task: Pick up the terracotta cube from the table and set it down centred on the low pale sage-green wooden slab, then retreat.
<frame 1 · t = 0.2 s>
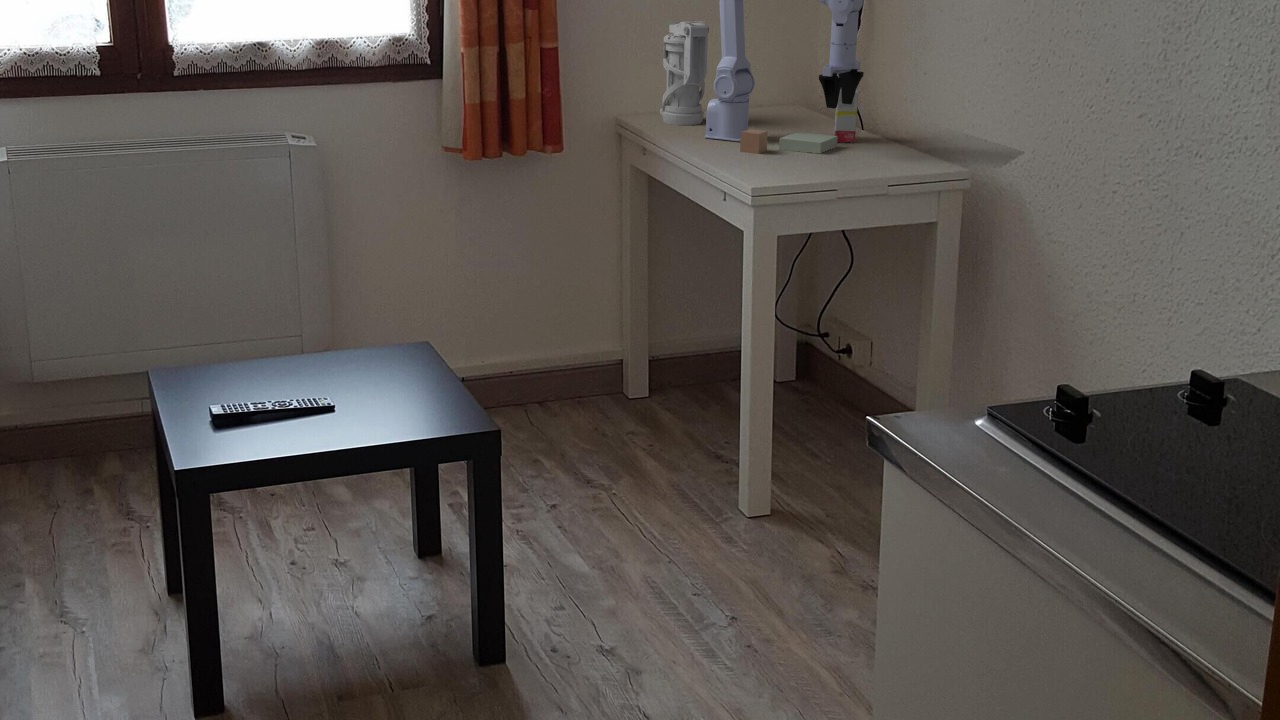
hand: (839, 106, 303), 10 cm above the table, fingers open, 7 cm apart
lantern: (685, 123, 339), on the table
ink box: (844, 140, 319), on the table
sage slab: (808, 148, 308), on the table
terracotta cube: (753, 151, 304), on the table
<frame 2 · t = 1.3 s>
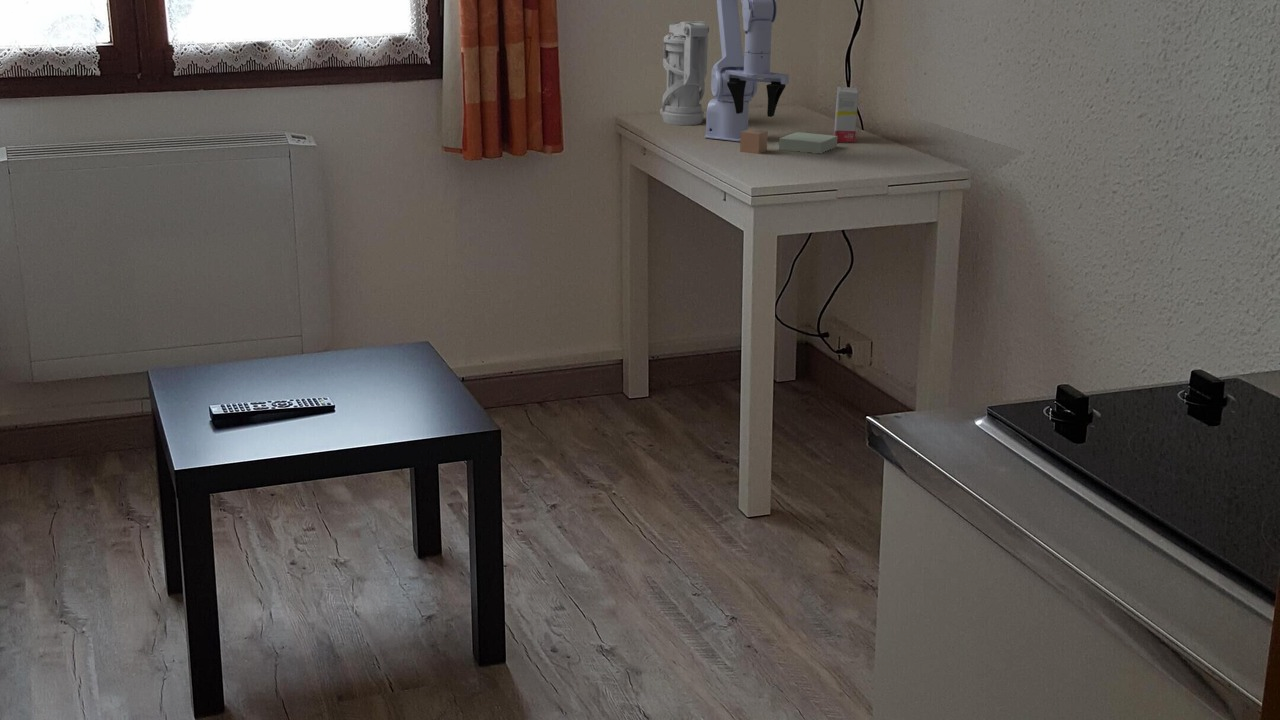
hand: (755, 114, 301), 8 cm above the table, fingers open, 7 cm apart
nothing on the table moved.
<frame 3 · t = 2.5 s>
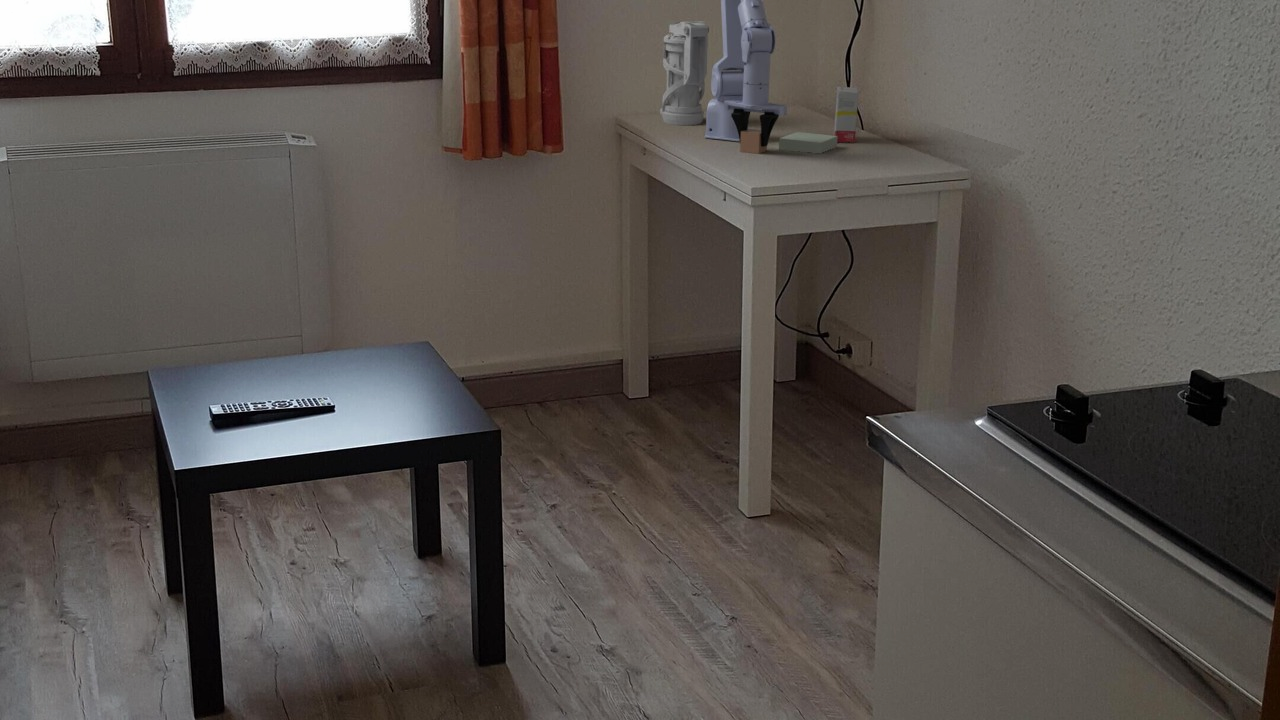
hand: (753, 144, 304), 1 cm above the table, fingers closed on terracotta cube, 4 cm apart
terracotta cube: (753, 151, 304), on the table, touching gripper
everything else where it was.
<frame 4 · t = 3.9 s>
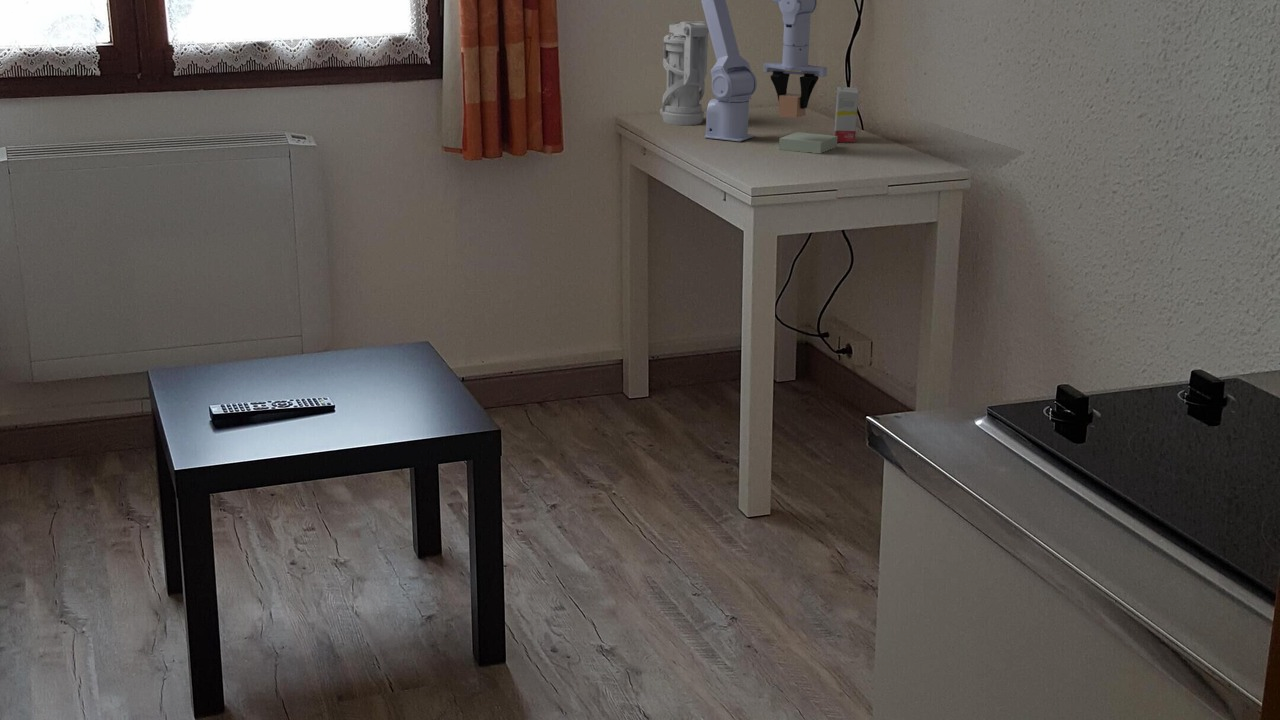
hand: (793, 107, 304), 9 cm above the table, fingers closed on terracotta cube, 5 cm apart
terracotta cube: (791, 115, 304), point 8 cm above the table, touching gripper
everything else where it was.
when the fingers open (5 cm above the table, at t = 5.4 s): terracotta cube drops 1 cm, resting on sage slab.
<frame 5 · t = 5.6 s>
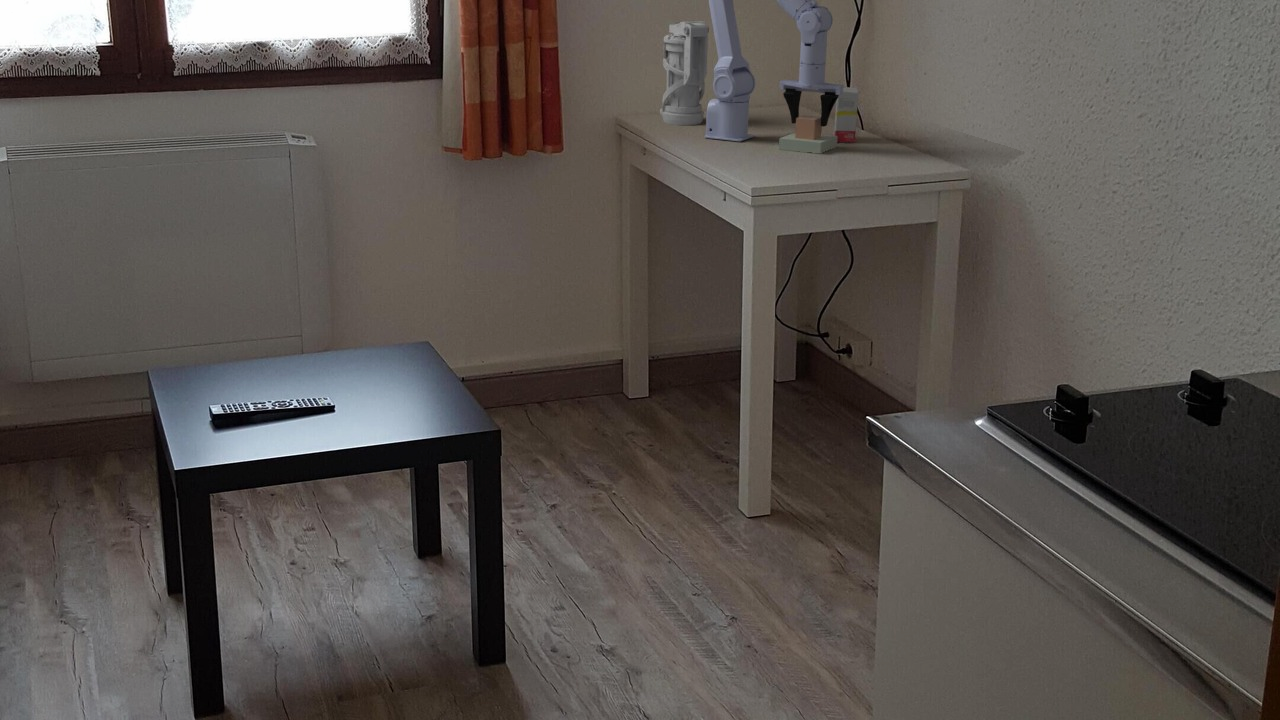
hand: (809, 124, 306), 5 cm above the table, fingers open, 6 cm apart
terracotta cube: (808, 137, 307), point 2 cm above the table, touching sage slab
everything else where it was.
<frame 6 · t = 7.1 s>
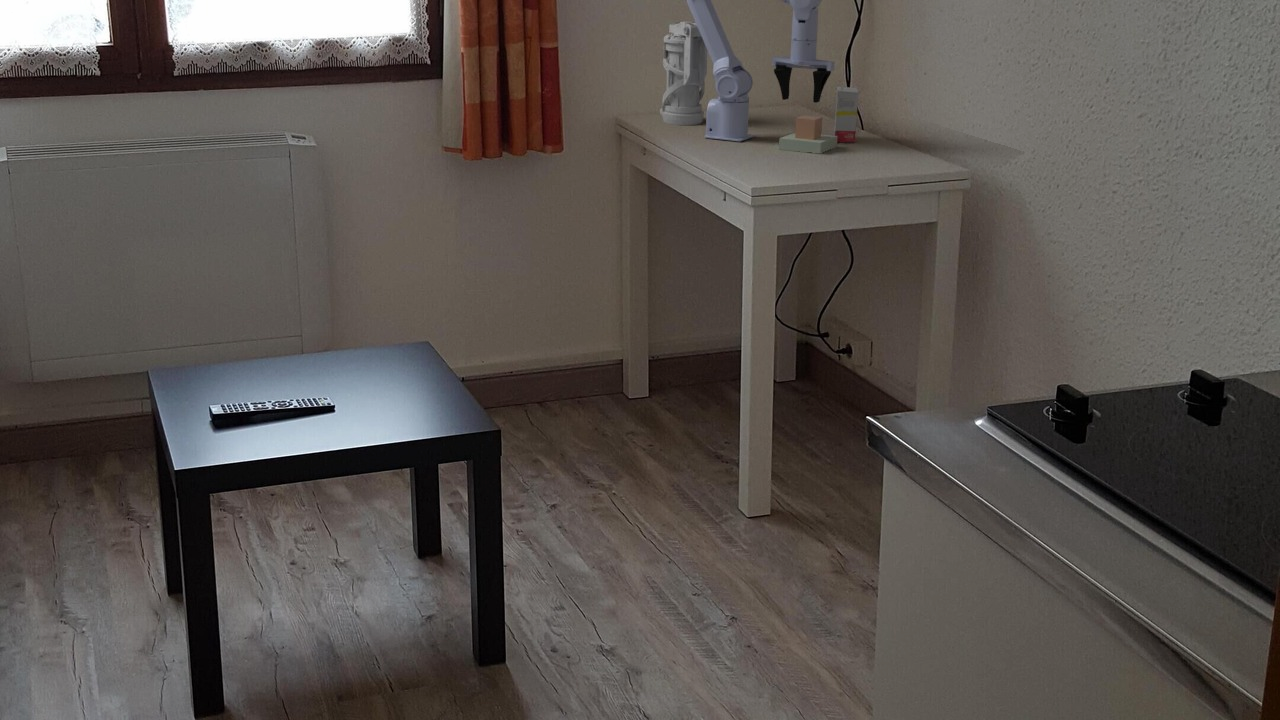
hand: (800, 100, 310), 10 cm above the table, fingers open, 7 cm apart
nothing on the table moved.
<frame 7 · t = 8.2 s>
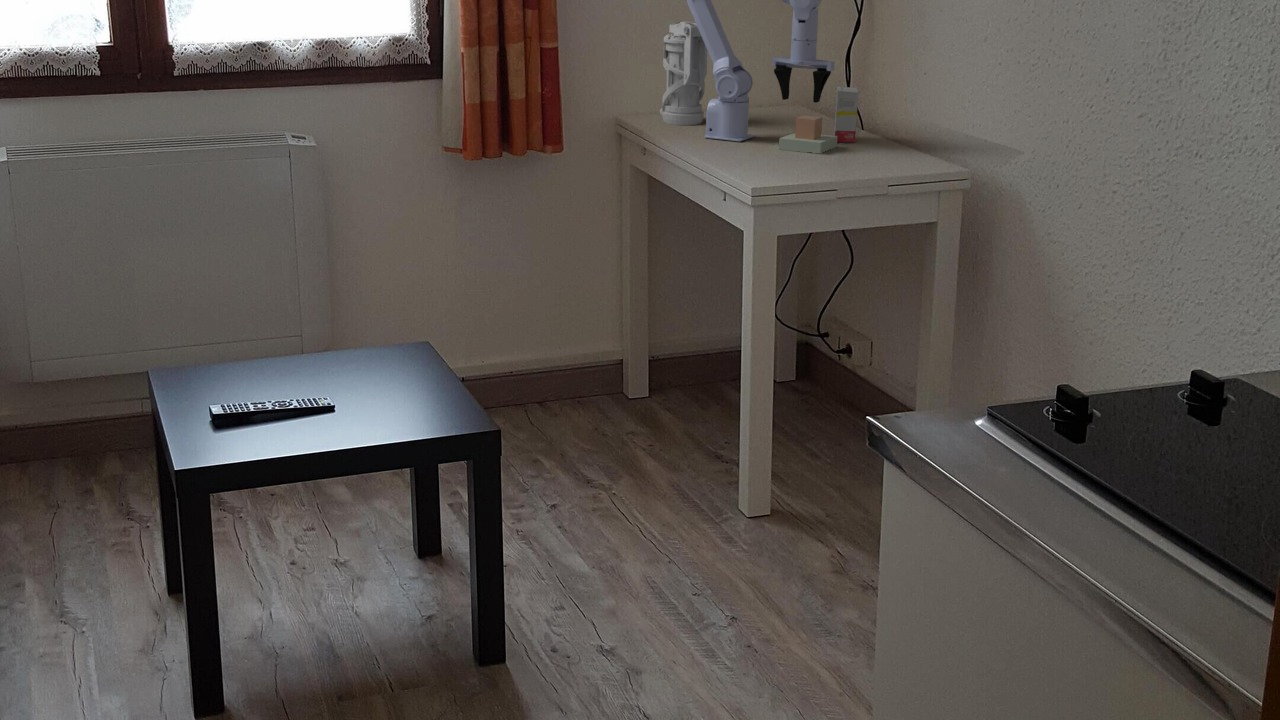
hand: (800, 100, 310), 10 cm above the table, fingers open, 7 cm apart
nothing on the table moved.
at the end: terracotta cube inside the target area on the sage slab (0.3 cm from its centre), point 2.5 cm above the sage slab's base; terracotta cube tilted 0°; the gripper is holding nothing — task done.
